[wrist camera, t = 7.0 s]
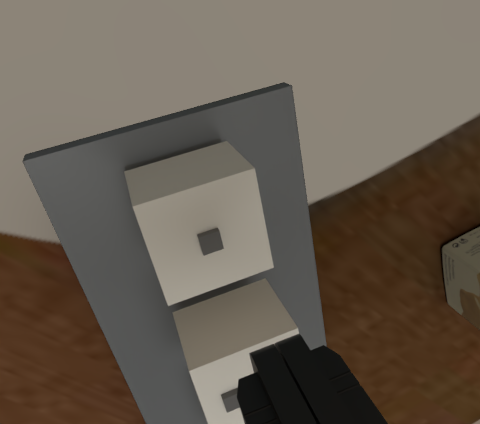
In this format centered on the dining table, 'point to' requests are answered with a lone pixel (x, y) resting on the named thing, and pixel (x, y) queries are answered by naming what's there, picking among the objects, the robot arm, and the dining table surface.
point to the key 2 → (229, 343)
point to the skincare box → (463, 275)
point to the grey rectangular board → (134, 247)
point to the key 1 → (200, 220)
